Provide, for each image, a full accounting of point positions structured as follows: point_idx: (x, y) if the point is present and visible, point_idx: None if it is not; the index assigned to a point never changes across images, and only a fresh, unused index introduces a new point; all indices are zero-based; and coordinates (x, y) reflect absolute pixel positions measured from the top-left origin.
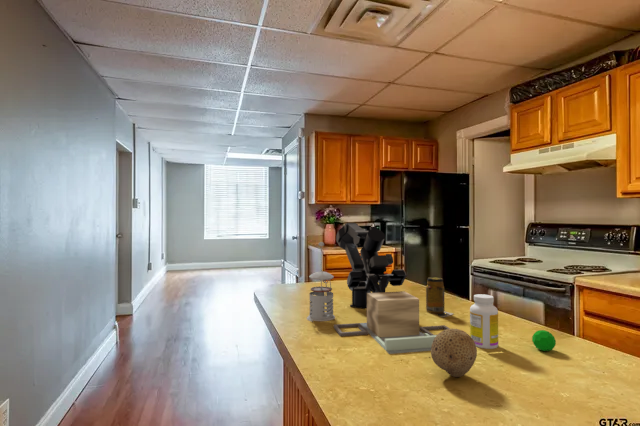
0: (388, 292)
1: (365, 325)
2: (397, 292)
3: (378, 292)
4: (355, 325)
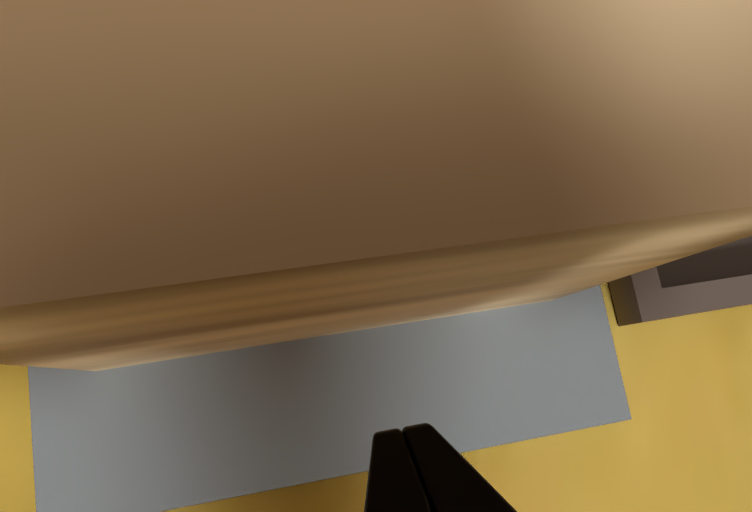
0: (346, 203)
1: (564, 329)
2: (66, 174)
3: (625, 221)
4: (675, 286)
